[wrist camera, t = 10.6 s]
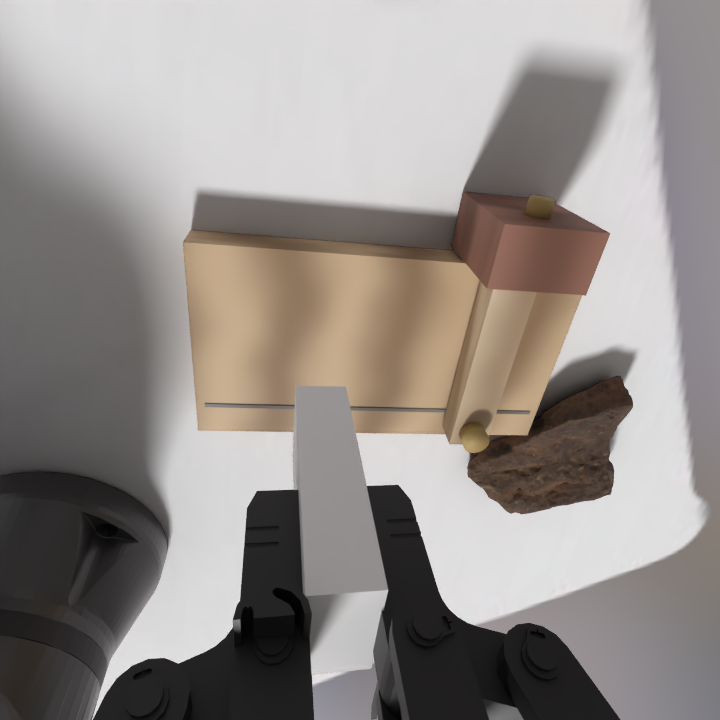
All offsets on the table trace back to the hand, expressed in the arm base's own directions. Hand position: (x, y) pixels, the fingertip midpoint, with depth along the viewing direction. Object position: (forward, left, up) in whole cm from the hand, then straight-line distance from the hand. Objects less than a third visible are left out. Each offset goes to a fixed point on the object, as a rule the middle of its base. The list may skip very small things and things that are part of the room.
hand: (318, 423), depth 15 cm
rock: (+19, -14, -15) cm, 28 cm away
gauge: (+10, -2, -14) cm, 18 cm away
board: (+5, -5, -14) cm, 16 cm away
